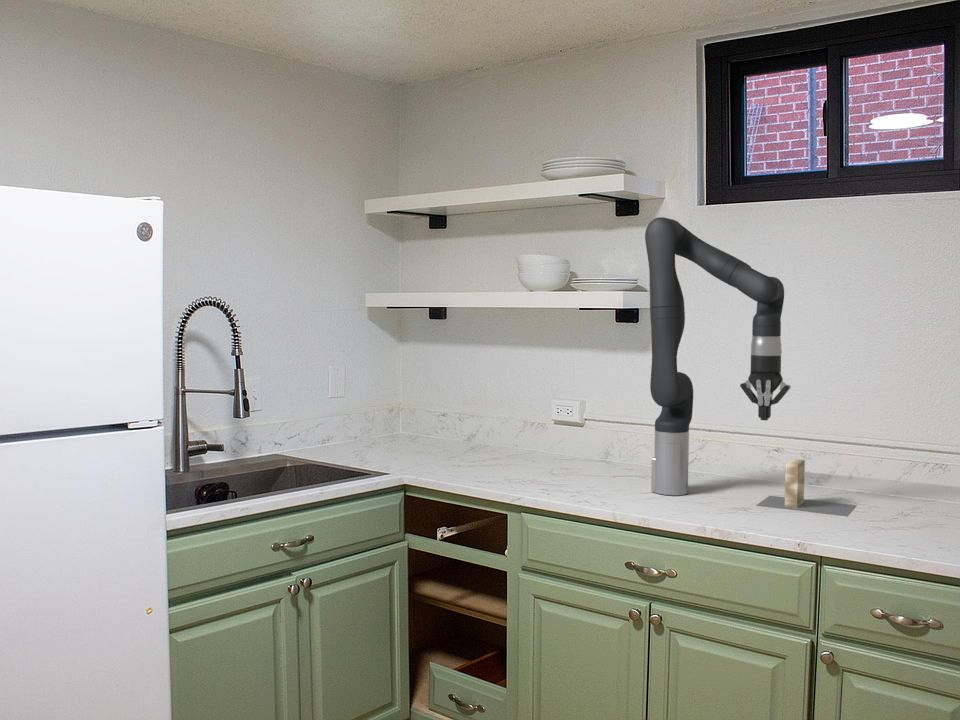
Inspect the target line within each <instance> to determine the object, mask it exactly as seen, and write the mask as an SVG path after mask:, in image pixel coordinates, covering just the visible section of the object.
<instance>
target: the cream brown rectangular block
mask: <svg viewBox="0 0 960 720" xmlns="http://www.w3.org/2000/svg"><path fill="white" fill-rule="evenodd" d="M805 463H806V459H798V458H791V460H788V462H786V463H785V477H784V479H785V484H784V497H785V506H786V507H795V508H797V507H798V506H800V505H801V504H802V503H803V502H804V499H805V496H804V495H805V473H806V472H805V467H806V466H805V465H806V464H805Z"/></svg>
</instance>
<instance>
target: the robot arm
mask: <svg viewBox="0 0 960 720" xmlns="http://www.w3.org/2000/svg"><path fill="white" fill-rule="evenodd" d="M644 241H645V249H646V254H647V262H648V269H649V270H648V273H649V315H650V316H649V317H650V328H651V333H650V334H651V339H650V340H651V367H650V368H651V369H650V371H651V372H650V381H649V382H650V384H649V389H650V394H651V395H650V396H651V398H652V400H653V401H654V403H655V404H657V405H658V406H659V407H661V411H660V414H659V416H658V417H657V418H656V419H655V421H654V455H653V457H652V458H651V481H650V482H651V483H650V484H651V487H650V488H651V491H650V492H651V493H655V494H659V495H665V496H683V495H687V494H688V493H689V457H690V456H689V453H690V451H689V448H690V447H689V446H690V442H689V441H690V424H691V422H692V419H693V410H694V409H693V406H694V386H693V382H692V380H691V378H690V377H689V376H688V375H687V374H686V373H683V372H682V371H681V372H680V371H678V350H679V346H680V343H681V340H682V337H683V334H684V330H685V324H686V323H685V322H686V320H685V319H686V315H685V314H686V311H685V298H684V294H683V291H682V286H681V283H680V281H679V278H678V274H677V269H676V256H679V257H681V258H685V259H686V260H689V261H691V262H692V263H694V264H696V265H697V266H699V267H700V268H702V269H703V270H704V271H705V272H707V273H709V274H710V275H711V276H713V277H714V278H716V279H718V280H719V281H721V282H723V283H725V284H726V285H728V286H731V287H733V288H735V289H737V290H738V291H740V292H741V293H742V294H743V295H745V296H746V297H748V298H750V299H751V300H753V301H755V302H756V313H755V315H754V316H753V318H752V328H751V329H752V332H751V333H752V336H751V342H750V343H751V344H750V374H749V376H748V377H747V378H748V380H746V381H744V382H742V383H740V385H739V386H740V388H741V389H742V391H743V392H744V393H745V395H746V396H747V398H748V399H749V400H750V402H751V403H752V404H756V405H757V406H758V408H757V409H758V411H757V413H758V415H757V417H758V418H759V419H760V421H768V420H769V419H770V418H771V417H772V416H771V414H772V412H771V411H772V405H776V404H779V402H780V401H781V400H782V399H783V398H784V396H786V394H787V393H788V392H789V391H790V390H791V385H790V384H787V383H786V382H785V381H783V379H784V378H783V376H782V370H781V369H782V351H783V350H782V337H781V333H782V332H781V331H782V329H781V328H782V326H781V325H782V322H781V318H782V313H783V307H784V300H785V288H784V284H783V282H782V281H781V280H780V279H779V278H777V277H776V276H769V275H766V274H764V273H762V272H760V271H758V270H756V269H754V268H752V266H751V265H749V264H748V263H747V262H745V261H743V260H741V259H739V258H737V257H735V256H733V255H732V254H730V253H727V252H726V251H724V250H722V249H719V248H717V247H716V246H713V245H711V244H709V243H708V242H706V241H704V240H703V239H701V238H699V237H698V236H696V235H695V234H694V233H692V232H691V231H690V230H689V229H687V227H685V226H683V225H682V223H680V222H679V221H677V220H675V219H672V218H667V217H664V216H663V217H661V216H660V217H655V218H653V219H652V220H650V222H649V223H648V224H647V226H646V228H645V233H644ZM778 387H779V390H780V391H779V392H778V393H777V394H776V395H775V397H774V398H773V396H774V392H775V391H776V390H777V389H778ZM751 388H753V390H755V391H756V394H755V393H754V391H753V390H752V389H751Z"/></svg>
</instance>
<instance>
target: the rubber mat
mask: <svg viewBox="0 0 960 720" xmlns="http://www.w3.org/2000/svg"><path fill="white" fill-rule="evenodd" d="M857 506H858V505H857V504H851V503H850V504H849V503H848V504H847V503H838V502H830V501H822V500H821V501H820V500H813V499H811V500H810V499H805V498H804V502H803V503H802V504H801V505H800V506H798V507H797V508H795V507H786V506H785V496H775V495H768V496H767V497H765V498H764V499H763V500H761V501H760V502H758V503H757V504H756V505H755V507H763V508H771V509H781V510H787V511H788V510H789V511H790V510H791V511H796V512H797V511H798V512H805V513H807V512H808V513H814V514H823V515H832V516H841V517H847V518H848V517H849V515H850V514H851V513H852V512H853V511H854V509H855V508H857Z"/></svg>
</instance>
